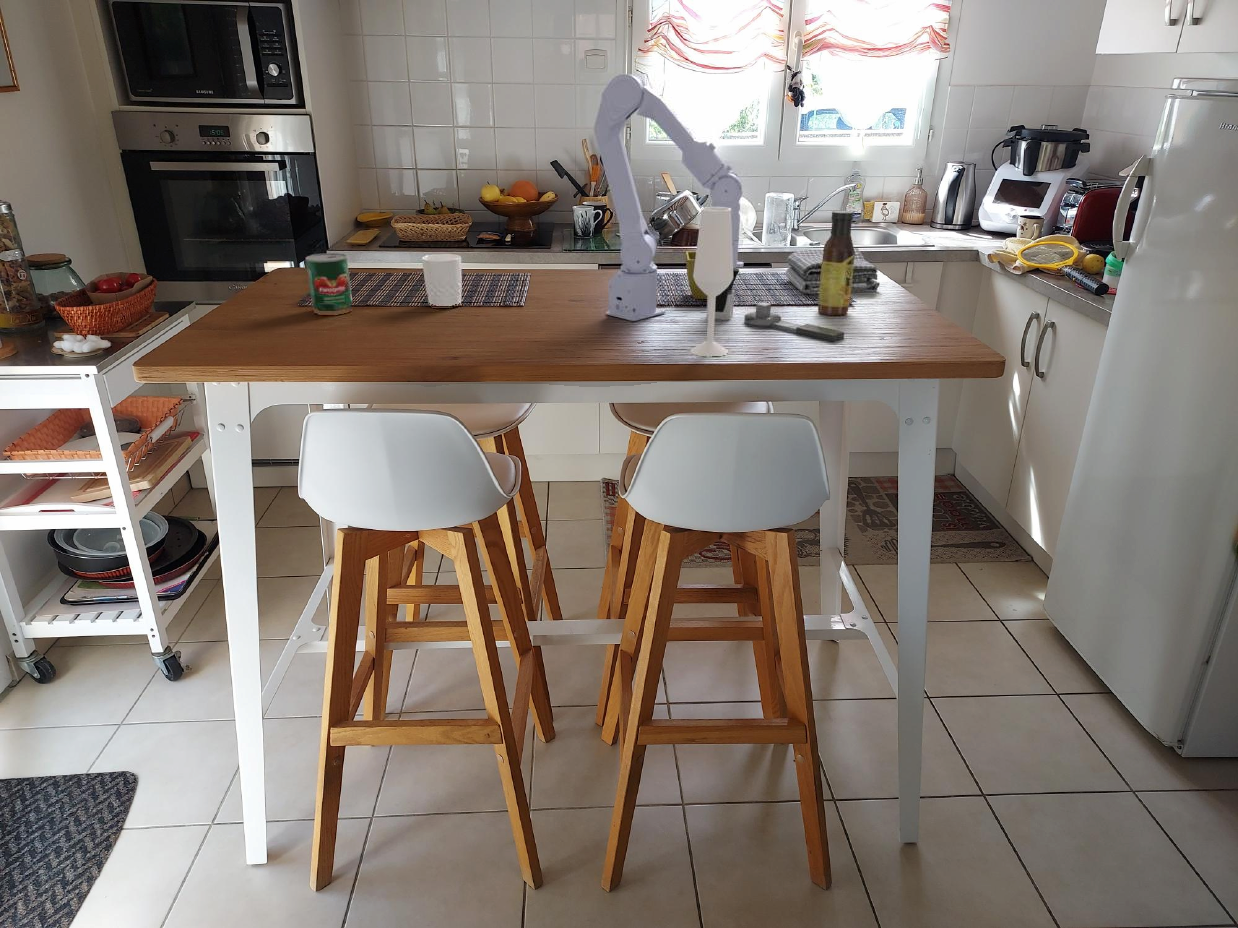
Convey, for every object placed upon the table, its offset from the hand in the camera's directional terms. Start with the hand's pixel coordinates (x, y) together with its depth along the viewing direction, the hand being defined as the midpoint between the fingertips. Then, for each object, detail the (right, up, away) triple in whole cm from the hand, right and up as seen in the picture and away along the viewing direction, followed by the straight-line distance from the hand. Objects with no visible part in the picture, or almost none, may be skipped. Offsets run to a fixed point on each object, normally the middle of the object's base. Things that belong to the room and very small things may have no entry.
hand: (720, 308), depth 169 cm
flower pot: (-1, +5, +16) cm, 17 cm away
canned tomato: (-78, 0, +4) cm, 79 cm away
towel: (+28, +9, +26) cm, 40 cm away
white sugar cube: (0, -1, +1) cm, 2 cm away
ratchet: (+12, -6, -8) cm, 16 cm away
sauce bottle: (+23, 0, +4) cm, 24 cm away
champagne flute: (-4, -12, -21) cm, 24 cm away
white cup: (-56, +2, +9) cm, 57 cm away
